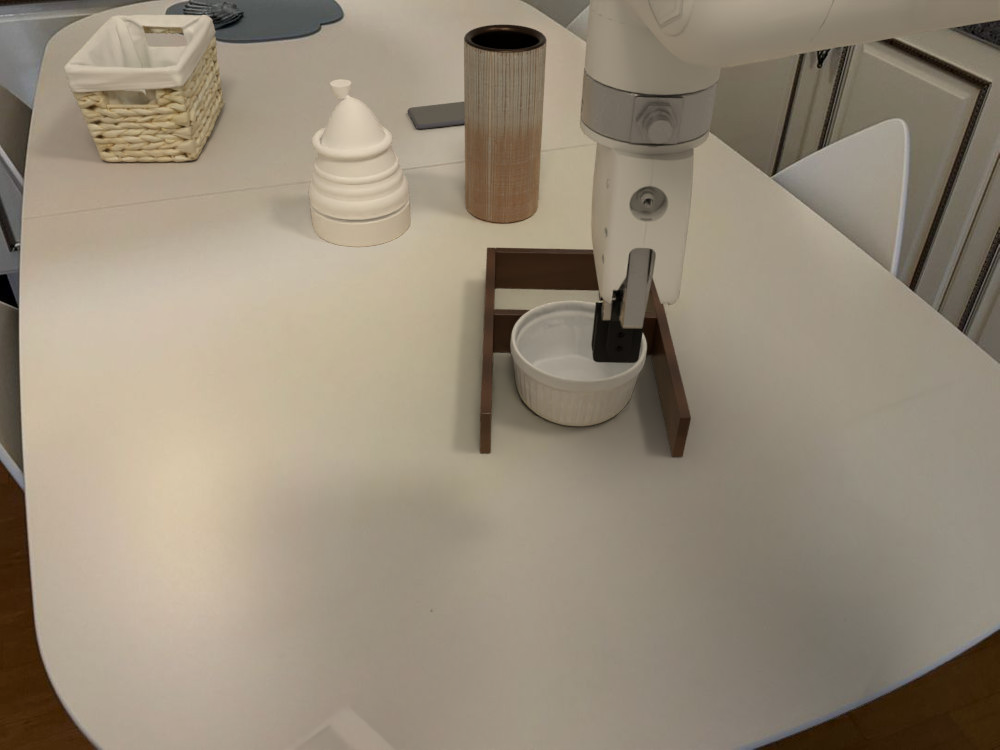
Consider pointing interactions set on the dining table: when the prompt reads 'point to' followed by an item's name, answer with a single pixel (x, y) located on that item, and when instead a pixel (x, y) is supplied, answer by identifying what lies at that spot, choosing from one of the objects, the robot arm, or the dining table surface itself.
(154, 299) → the dining table surface
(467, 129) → the planter
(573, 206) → the dining table surface
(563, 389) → the ramekin
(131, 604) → the dining table surface
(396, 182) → the honey pot
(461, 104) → the smartphone
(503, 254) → the frame
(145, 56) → the basket
